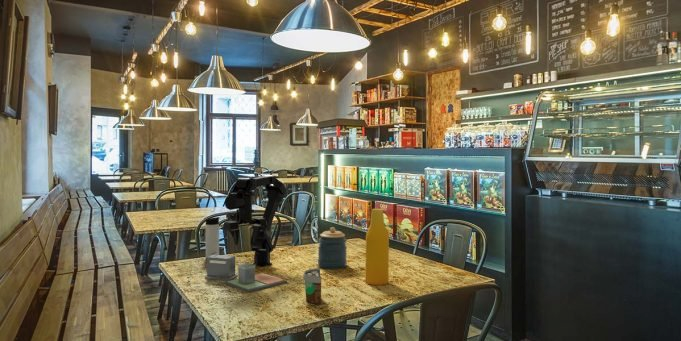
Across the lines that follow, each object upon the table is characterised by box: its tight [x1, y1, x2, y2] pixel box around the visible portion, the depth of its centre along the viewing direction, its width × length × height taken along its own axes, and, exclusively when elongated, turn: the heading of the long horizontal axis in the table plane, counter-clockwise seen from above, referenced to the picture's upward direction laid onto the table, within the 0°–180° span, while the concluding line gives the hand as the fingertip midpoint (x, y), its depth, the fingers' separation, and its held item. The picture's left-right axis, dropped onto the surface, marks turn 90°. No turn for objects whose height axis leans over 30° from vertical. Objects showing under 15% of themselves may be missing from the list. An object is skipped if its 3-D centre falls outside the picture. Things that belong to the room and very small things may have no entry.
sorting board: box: [224, 272, 288, 293], centre depth 182 cm, size 18×16×1 cm
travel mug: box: [205, 216, 220, 260], centre depth 223 cm, size 6×7×20 cm
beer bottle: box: [364, 208, 390, 286], centre depth 184 cm, size 9×9×29 cm
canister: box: [317, 226, 348, 270], centre depth 210 cm, size 13×13×18 cm
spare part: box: [237, 262, 256, 285], centre depth 178 cm, size 5×5×7 cm
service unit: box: [204, 254, 238, 281], centre depth 190 cm, size 7×11×8 cm, turn 76°
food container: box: [302, 267, 322, 306], centre depth 161 cm, size 12×6×10 cm, turn 5°
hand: (245, 243), depth 200 cm, fingers open, 9 cm apart
